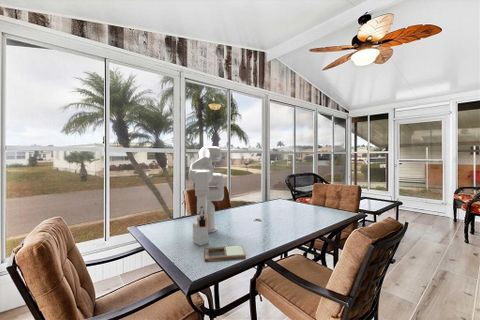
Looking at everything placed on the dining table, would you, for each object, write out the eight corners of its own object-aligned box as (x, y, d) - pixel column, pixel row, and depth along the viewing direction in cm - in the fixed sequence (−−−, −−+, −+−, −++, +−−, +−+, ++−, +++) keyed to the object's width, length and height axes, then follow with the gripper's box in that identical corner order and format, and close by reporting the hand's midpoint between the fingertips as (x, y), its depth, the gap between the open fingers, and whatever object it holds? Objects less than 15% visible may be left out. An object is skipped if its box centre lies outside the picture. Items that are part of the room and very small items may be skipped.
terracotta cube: (198, 224, 127) (197, 215, 127) (207, 224, 127) (207, 214, 127) (197, 227, 121) (197, 217, 121) (207, 227, 122) (207, 217, 122)
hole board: (205, 250, 131) (205, 247, 131) (241, 247, 134) (241, 244, 134) (204, 261, 117) (204, 258, 117) (245, 258, 120) (245, 255, 120)
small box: (208, 243, 142) (208, 222, 142) (200, 246, 137) (200, 225, 137) (200, 239, 148) (200, 220, 147) (192, 242, 143) (192, 222, 143)
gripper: (196, 190, 132) (197, 220, 132) (193, 195, 115) (194, 230, 115) (209, 190, 133) (209, 220, 133) (208, 195, 116) (209, 229, 116)
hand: (202, 224), depth 124 cm, fingers closed on terracotta cube, 5 cm apart
